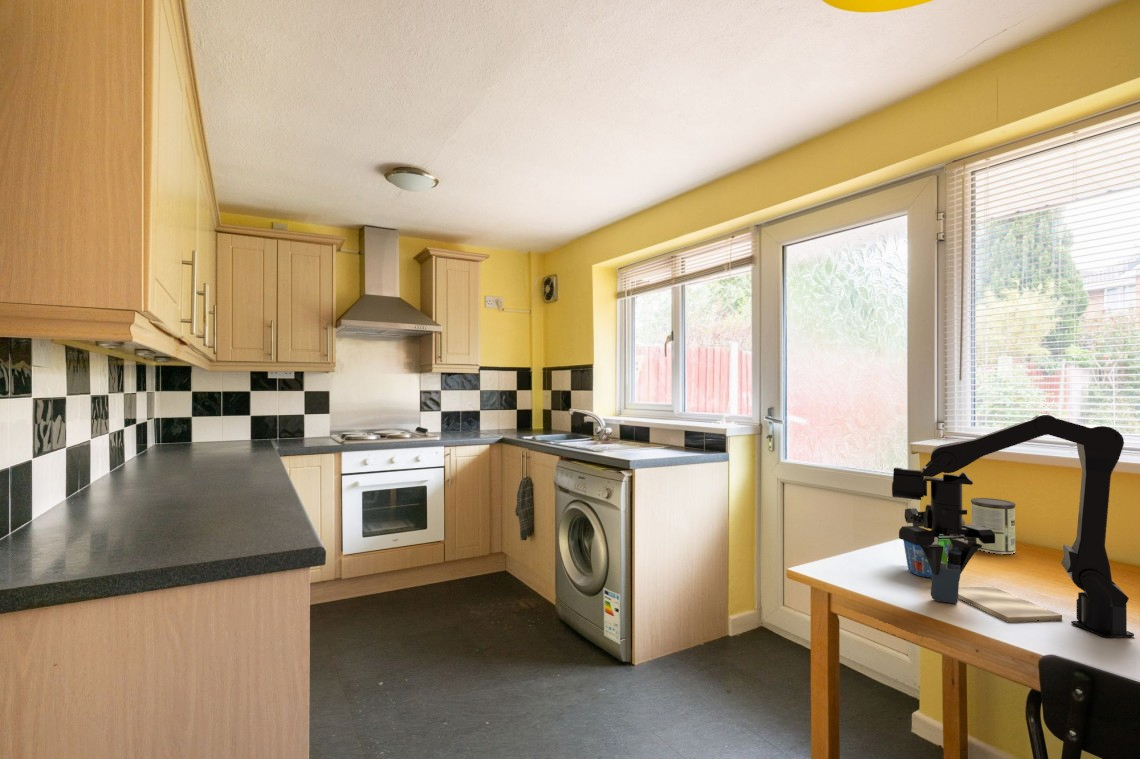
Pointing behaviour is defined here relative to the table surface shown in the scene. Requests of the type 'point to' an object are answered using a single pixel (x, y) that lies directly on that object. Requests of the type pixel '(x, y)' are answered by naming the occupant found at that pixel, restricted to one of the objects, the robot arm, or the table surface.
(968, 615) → the table surface
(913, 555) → the blue plastic tapered tub
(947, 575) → the vaping device
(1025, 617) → the birch board
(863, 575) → the table surface
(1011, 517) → the coffee can
